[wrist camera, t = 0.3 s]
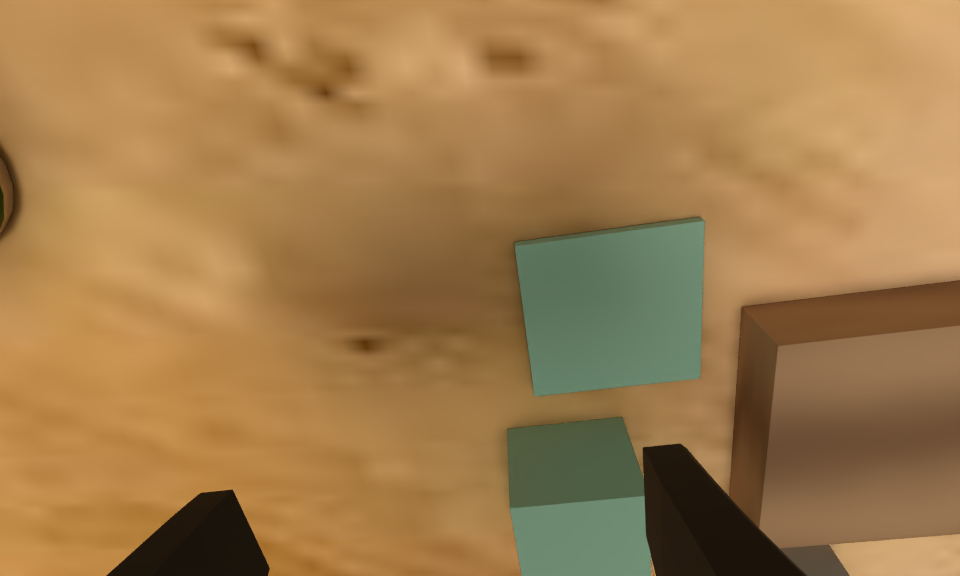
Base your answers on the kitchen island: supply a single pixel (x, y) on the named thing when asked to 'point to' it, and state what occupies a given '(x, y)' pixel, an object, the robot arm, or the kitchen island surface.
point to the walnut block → (850, 416)
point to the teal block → (577, 500)
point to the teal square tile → (613, 306)
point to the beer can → (5, 195)
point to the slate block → (816, 560)
